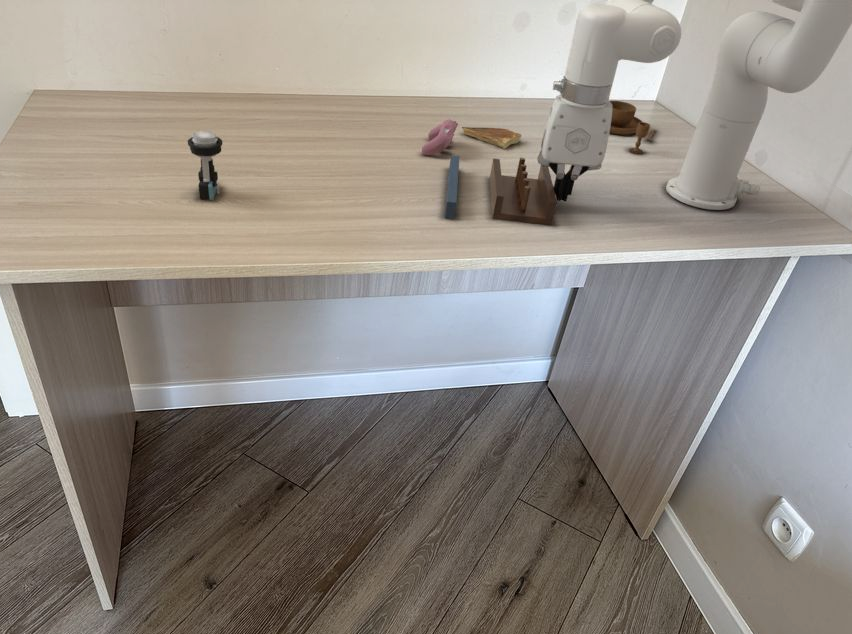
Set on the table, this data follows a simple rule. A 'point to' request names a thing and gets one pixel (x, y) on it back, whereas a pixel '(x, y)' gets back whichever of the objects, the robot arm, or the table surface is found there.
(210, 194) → the push button
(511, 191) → the rack
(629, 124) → the place setting
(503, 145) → the golden brown flat wedge
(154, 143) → the table surface
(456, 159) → the bar
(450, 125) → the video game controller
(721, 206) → the robot arm
